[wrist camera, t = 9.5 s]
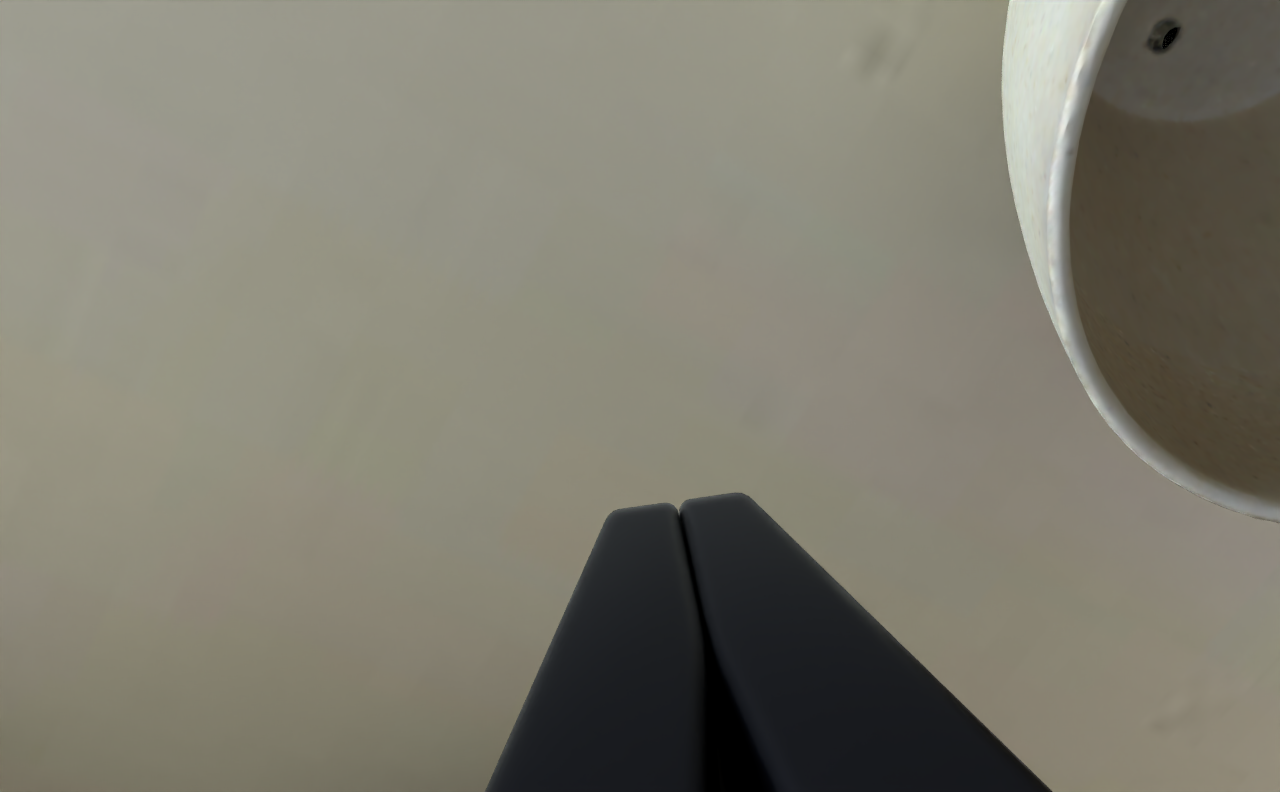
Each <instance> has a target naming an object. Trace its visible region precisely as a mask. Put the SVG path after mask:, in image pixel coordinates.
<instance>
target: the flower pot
mask: <svg viewBox="0 0 1280 792" xmlns="http://www.w3.org/2000/svg"><path fill="white" fill-rule="evenodd" d="M1175 27H1177V28H1178V31H1177V34H1176V36H1175V38H1174V39H1173V41H1172V42H1171V43H1170V44H1169V46H1168V47H1167V48H1165V49H1163V47H1162V42H1163V39H1164V37H1165V35H1166V34H1167V33H1168V31H1169V30H1170V29H1172V28H1175ZM1002 107H1003V125H1004V137H1005V147H1006V154H1007V162H1008V169H1009V176H1010V181H1011V186H1012V191H1013V196H1014V201H1015V206H1016V210H1017V214H1018V218H1019V222H1020V226H1021V230H1022V233H1023V237H1024V241H1025V245H1026V249H1027V252H1028V255H1029V258H1030V262H1031V265H1032V268H1033V271H1034V274H1035V277H1036V280H1037V283H1038V286H1039V289H1040V292H1041V295H1042V297H1043V300H1044V302H1045V305H1046V307H1047V309H1048V312H1049V314H1050V317H1051V319H1052V322H1053V324H1054V326H1055V329H1056V331H1057V334H1058V336H1059V338H1060V340H1061V342H1062V344H1063V346H1064V348H1065V350H1066V353H1067V355H1068V357H1069V359H1070V361H1071V363H1072V365H1073V367H1074V370H1075V372H1076V374H1077V376H1078V377H1079V379H1080V381H1081V383H1082V385H1083V386H1084V388H1085V390H1086V392H1087V394H1088V395H1089V397H1090V399H1091V401H1092V402H1093V404H1094V405H1095V407H1096V408H1097V410H1098V411H1099V413H1100V414H1101V416H1102V417H1103V418H1104V420H1105V421H1106V423H1107V424H1108V425H1109V427H1110V428H1111V429H1112V430H1113V431H1114V432H1115V433H1116V434H1117V435H1118V436H1119V437H1120V438H1121V440H1122V441H1123V442H1124V443H1125V444H1126V445H1127V446H1128V447H1129V448H1130V449H1131V450H1132V451H1133V452H1134V453H1135V454H1136V455H1137V456H1138V457H1140V458H1141V459H1142V460H1143V461H1144V462H1146V463H1147V464H1148V465H1149V466H1151V467H1152V468H1153V469H1155V470H1156V471H1157V472H1159V473H1160V474H1162V475H1163V476H1164V477H1166V478H1167V479H1169V480H1170V481H1172V482H1174V483H1175V484H1177V485H1179V486H1180V487H1182V488H1185V489H1186V490H1188V491H1189V492H1191V493H1193V494H1195V495H1197V496H1199V497H1201V498H1203V499H1206V500H1208V501H1210V502H1212V503H1214V504H1217V505H1219V506H1221V507H1224V508H1227V509H1230V510H1232V511H1235V512H1239V513H1243V514H1245V515H1248V516H1251V517H1253V518H1257V519H1262V520H1267V521H1272V522H1277V523H1280V0H1010V1H1009V7H1008V13H1007V21H1006V29H1005V37H1004V48H1003V62H1002Z"/></svg>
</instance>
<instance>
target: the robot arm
mask: <svg viewBox="0 0 1280 792" xmlns="http://www.w3.org/2000/svg"><path fill="white" fill-rule="evenodd" d="M485 792H1052V791H1051V790H1050V789H1049V788H1048V787H1047V786H1046V785H1045V784H1044V783H1043V782H1042V781H1041V780H1040V779H1039V778H1038V777H1037V776H1036V775H1035V774H1034V773H1033V772H1032V771H1031V770H1030V769H1029V768H1028V767H1027V766H1026V765H1025V764H1024V763H1023V762H1022V761H1020V760H1019V759H1018V758H1017V757H1016V756H1015V755H1014V754H1013V753H1012V752H1011V751H1010V750H1009V749H1008V748H1007V747H1006V746H1005V745H1004V744H1003V743H1002V742H1001V741H1000V740H999V739H998V738H997V737H996V736H995V735H994V734H993V733H992V732H991V731H990V730H989V729H988V728H987V727H986V726H985V725H984V724H983V723H981V722H980V721H979V720H978V719H977V718H976V717H975V716H974V715H973V714H972V713H971V712H970V711H969V710H968V709H967V708H966V707H965V706H964V705H963V704H962V703H961V702H960V701H959V700H958V699H957V698H956V697H955V696H954V695H953V694H952V693H951V692H950V691H949V690H948V689H947V688H946V687H945V686H943V685H942V684H941V683H940V682H939V681H938V680H937V679H936V678H935V677H934V676H933V675H932V674H931V673H930V672H929V671H928V670H927V669H926V668H925V667H924V666H923V665H922V664H921V663H920V662H919V661H918V660H917V659H916V658H915V657H914V656H913V655H912V654H911V653H910V652H909V651H908V650H907V649H905V648H904V647H903V646H902V645H901V644H900V643H899V642H898V641H897V640H896V639H895V638H894V637H893V636H892V635H891V634H890V633H889V632H888V631H887V630H886V629H885V628H884V627H883V626H882V625H881V624H880V623H879V622H878V621H877V620H876V619H875V618H874V617H873V616H872V615H871V614H870V613H869V612H867V611H866V610H865V609H864V608H863V607H862V606H861V605H860V604H859V603H858V602H857V601H856V600H855V599H854V598H853V597H852V596H851V595H850V594H849V593H848V592H847V591H846V590H845V589H844V588H843V587H842V586H841V585H840V584H839V583H838V582H837V581H836V580H835V579H834V578H833V577H832V576H831V575H829V574H828V573H827V572H826V571H825V570H824V569H823V568H822V567H821V566H820V565H819V564H818V563H817V562H816V561H815V560H814V559H813V558H812V557H811V556H810V555H809V554H808V553H807V552H806V551H805V550H804V549H803V548H802V547H801V546H800V545H799V544H798V543H797V542H796V541H795V540H794V539H793V538H792V537H790V536H789V535H788V534H787V533H786V532H785V531H784V530H783V529H782V528H781V527H780V526H779V525H778V524H777V523H776V522H775V521H774V520H773V519H772V518H771V517H770V516H769V515H768V514H767V513H766V512H765V511H764V510H763V509H762V508H761V507H760V506H759V505H758V504H757V503H756V502H755V501H754V500H752V499H751V498H750V497H749V496H747V495H745V494H743V493H729V494H722V495H715V496H708V497H701V498H694V499H689V500H686V501H685V502H683V503H682V505H681V507H680V509H679V513H678V510H677V509H676V508H675V506H674V505H672V504H670V503H659V504H651V505H644V506H637V507H630V508H623V509H618V510H615V511H613V512H612V513H610V514H609V516H608V517H607V519H606V520H605V522H604V524H603V527H602V529H601V531H600V533H599V536H598V538H597V540H596V542H595V545H594V547H593V549H592V551H591V554H590V556H589V558H588V560H587V563H586V565H585V567H584V569H583V572H582V574H581V576H580V578H579V581H578V583H577V585H576V587H575V590H574V592H573V594H572V597H571V599H570V601H569V603H568V606H567V608H566V610H565V612H564V615H563V617H562V619H561V621H560V624H559V626H558V628H557V630H556V633H555V635H554V637H553V639H552V642H551V644H550V646H549V648H548V651H547V653H546V655H545V657H544V660H543V662H542V664H541V666H540V669H539V671H538V673H537V675H536V678H535V680H534V682H533V684H532V687H531V689H530V691H529V693H528V696H527V698H526V700H525V702H524V705H523V707H522V709H521V711H520V714H519V716H518V718H517V720H516V723H515V725H514V727H513V729H512V732H511V734H510V736H509V738H508V741H507V743H506V745H505V747H504V750H503V752H502V754H501V757H500V759H499V761H498V763H497V766H496V768H495V770H494V772H493V775H492V777H491V779H490V781H489V784H488V786H487V788H486V790H485Z"/></svg>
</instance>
